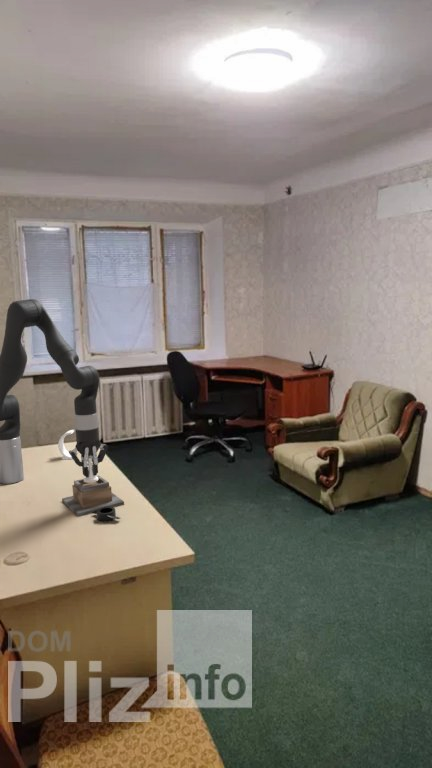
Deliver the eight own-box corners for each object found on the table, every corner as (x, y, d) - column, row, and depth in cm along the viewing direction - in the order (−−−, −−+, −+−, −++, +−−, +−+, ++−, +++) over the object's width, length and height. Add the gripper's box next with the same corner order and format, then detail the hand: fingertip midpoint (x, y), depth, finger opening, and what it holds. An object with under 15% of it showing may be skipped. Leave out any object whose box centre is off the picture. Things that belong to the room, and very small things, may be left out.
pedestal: (62, 501, 186) (60, 480, 184) (105, 490, 194) (104, 470, 193) (78, 516, 173) (76, 494, 171) (124, 504, 181) (122, 483, 180)
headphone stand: (73, 459, 233) (70, 432, 231) (59, 459, 233) (57, 432, 231) (76, 456, 237) (74, 429, 235) (62, 456, 237) (60, 429, 235)
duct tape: (97, 527, 165) (96, 518, 164) (91, 515, 174) (91, 506, 173) (122, 522, 167) (121, 514, 167) (115, 511, 177) (114, 502, 176)
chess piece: (85, 483, 179) (83, 454, 177) (82, 479, 183) (79, 451, 181) (100, 481, 181) (98, 452, 179) (96, 476, 185) (94, 448, 184)
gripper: (102, 420, 186) (105, 468, 189) (62, 427, 178) (66, 477, 181) (110, 425, 180) (114, 474, 183) (70, 432, 172) (74, 483, 175)
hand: (90, 475), depth 182 cm, fingers closed on chess piece
